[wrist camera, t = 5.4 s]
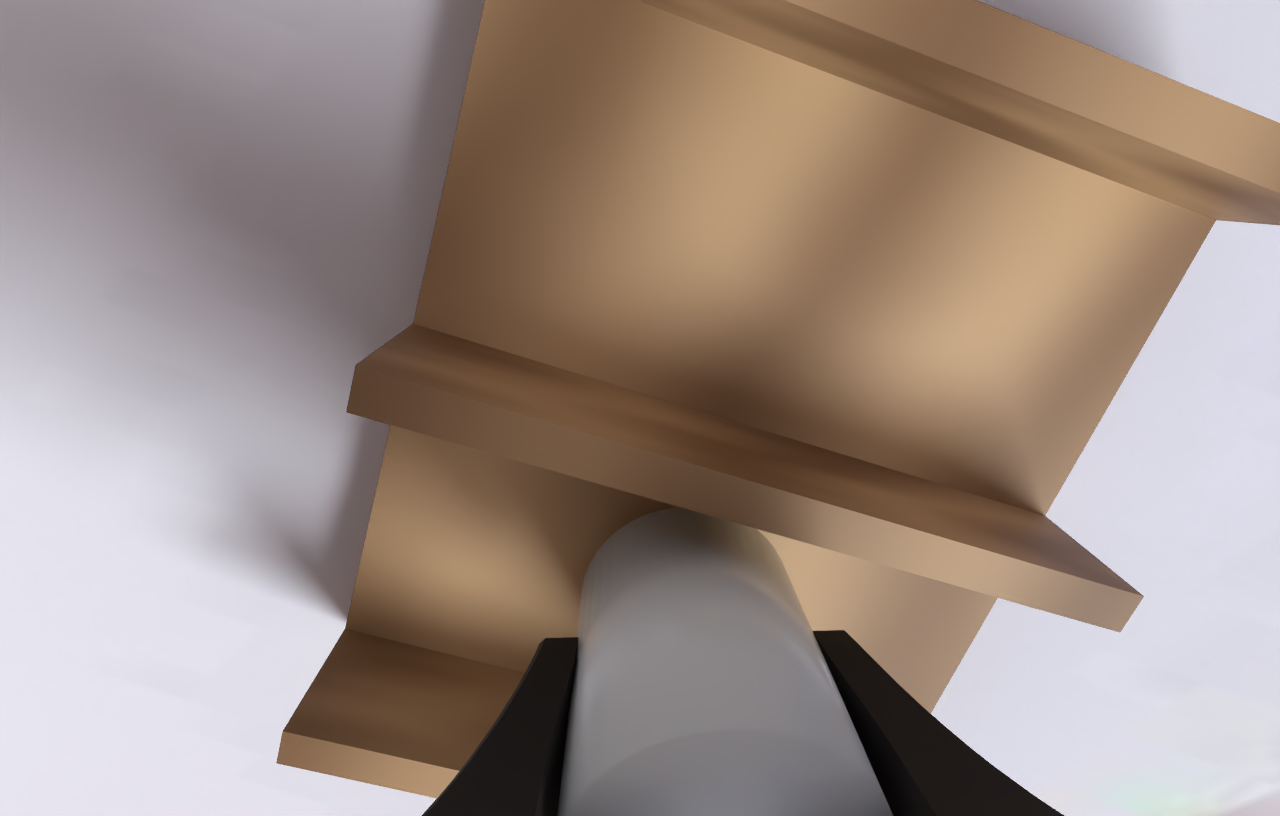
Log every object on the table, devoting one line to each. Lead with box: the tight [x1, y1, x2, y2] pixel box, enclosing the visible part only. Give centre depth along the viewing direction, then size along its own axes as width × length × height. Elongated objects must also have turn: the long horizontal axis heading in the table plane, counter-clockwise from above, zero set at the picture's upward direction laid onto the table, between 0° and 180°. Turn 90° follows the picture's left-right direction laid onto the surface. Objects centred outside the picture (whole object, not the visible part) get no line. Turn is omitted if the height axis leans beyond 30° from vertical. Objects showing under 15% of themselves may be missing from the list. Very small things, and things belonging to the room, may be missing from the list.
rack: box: [277, 0, 1280, 798], centre depth 13 cm, size 14×16×4 cm
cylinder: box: [557, 507, 893, 816], centre depth 11 cm, size 4×4×6 cm
